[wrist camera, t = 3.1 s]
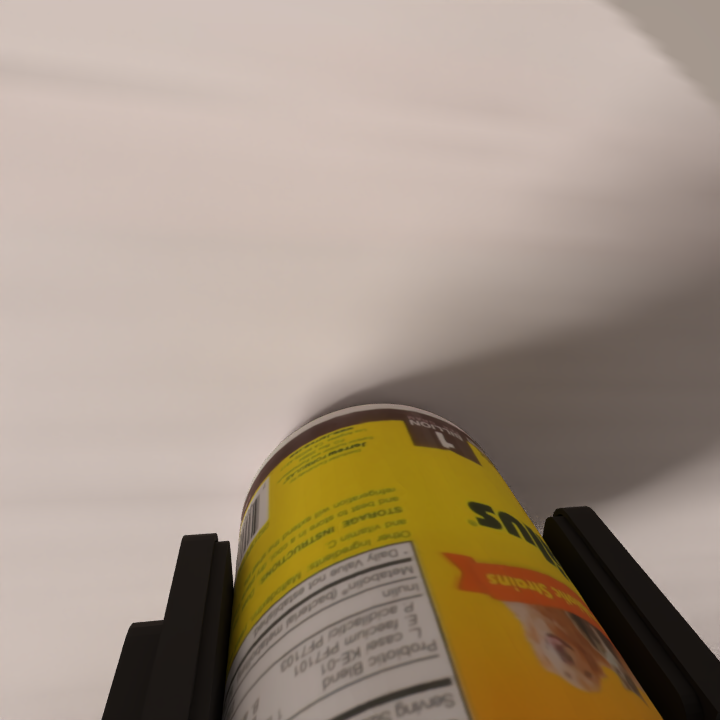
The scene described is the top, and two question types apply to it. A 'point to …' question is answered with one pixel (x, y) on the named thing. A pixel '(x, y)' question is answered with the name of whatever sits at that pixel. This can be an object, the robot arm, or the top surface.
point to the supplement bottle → (407, 587)
